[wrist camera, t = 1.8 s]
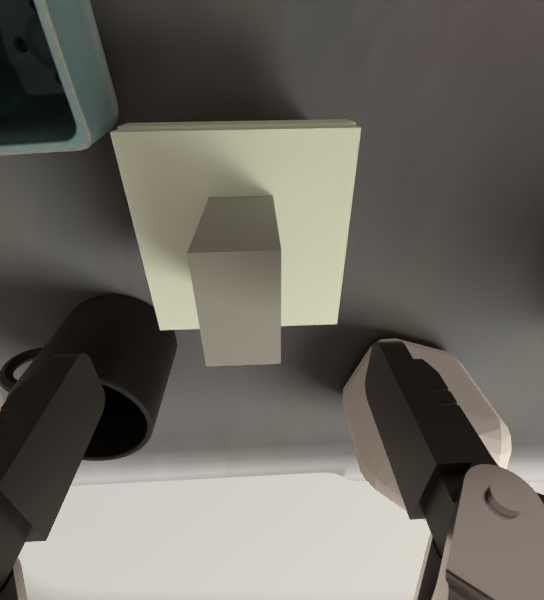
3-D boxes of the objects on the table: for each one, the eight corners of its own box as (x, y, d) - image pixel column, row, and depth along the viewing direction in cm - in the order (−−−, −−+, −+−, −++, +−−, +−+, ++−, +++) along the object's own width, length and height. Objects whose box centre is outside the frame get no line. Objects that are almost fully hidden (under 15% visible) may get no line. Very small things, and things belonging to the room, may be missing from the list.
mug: (26, 281, 27) (-64, 361, 19) (179, 300, 28) (151, 381, 21) (48, 366, 32) (-17, 455, 24) (176, 378, 33) (153, 465, 26)
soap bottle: (460, 347, 33) (746, 720, 14) (408, 408, 38) (564, 745, 19) (374, 324, 31) (569, 726, 12) (331, 392, 35) (418, 752, 17)
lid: (349, 119, 16) (423, 150, 9) (330, 302, 22) (365, 406, 15) (126, 122, 16) (22, 158, 9) (167, 307, 22) (126, 416, 15)
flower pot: (-79, -67, 16) (-371, -195, 9) (104, -81, 16) (-28, -220, 9) (12, 134, 21) (-124, 166, 13) (152, 124, 21) (94, 149, 13)
